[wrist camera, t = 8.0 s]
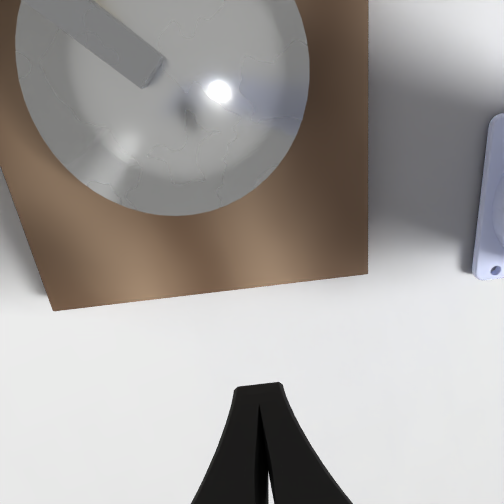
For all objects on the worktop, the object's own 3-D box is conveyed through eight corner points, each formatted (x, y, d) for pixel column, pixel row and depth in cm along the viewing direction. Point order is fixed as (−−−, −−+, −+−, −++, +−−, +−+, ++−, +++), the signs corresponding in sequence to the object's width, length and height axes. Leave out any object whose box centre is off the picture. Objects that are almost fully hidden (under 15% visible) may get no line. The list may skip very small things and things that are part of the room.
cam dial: (358, 50, 16) (413, 49, 11) (204, 247, 19) (194, 313, 14) (-27, -308, 12) (-209, -562, 7) (-144, 18, 15) (-328, 1, 10)
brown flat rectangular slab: (357, -281, 13) (375, -327, 12) (360, 262, 21) (371, 280, 20) (-118, -220, 14) (-165, -257, 12) (62, 298, 22) (48, 318, 20)
